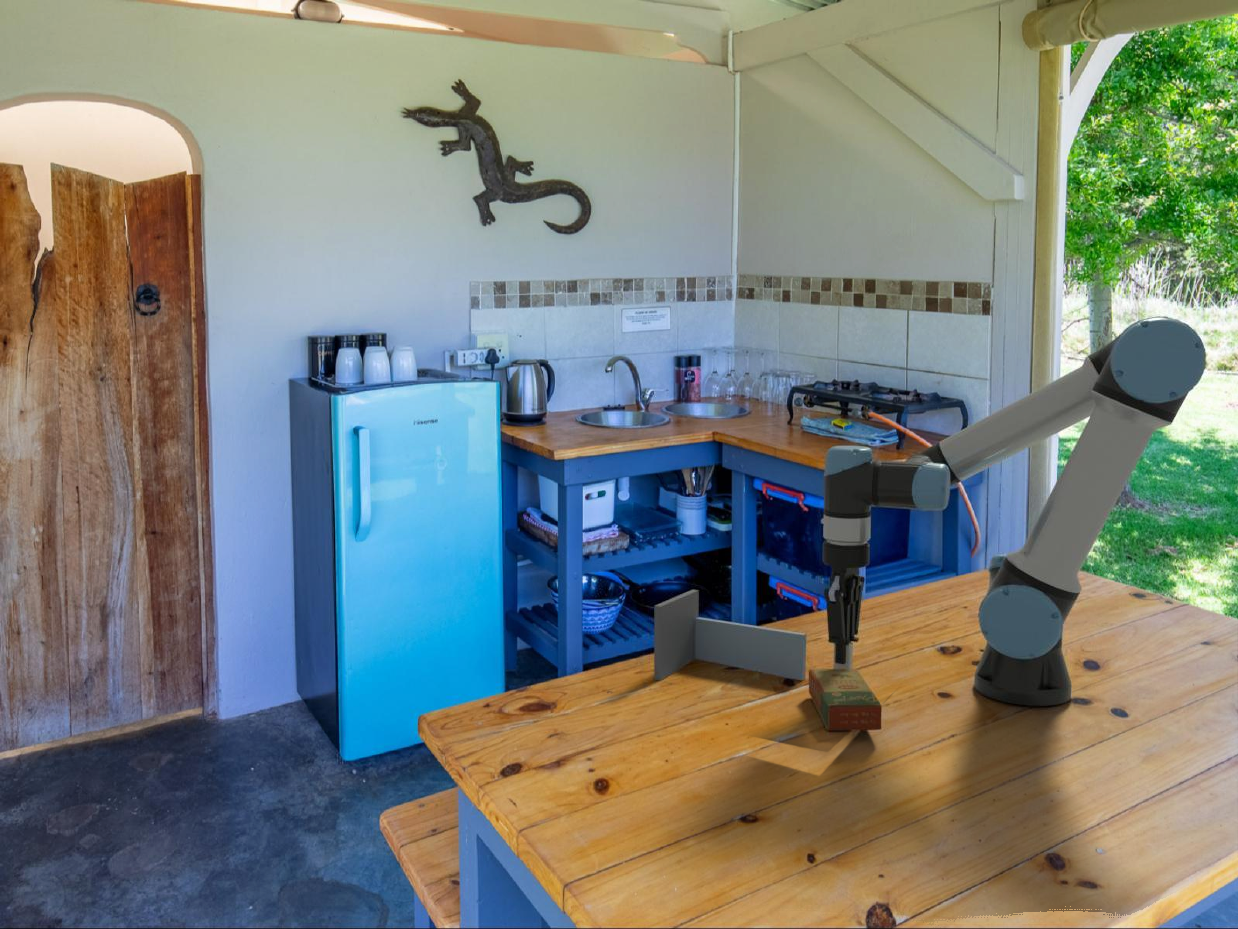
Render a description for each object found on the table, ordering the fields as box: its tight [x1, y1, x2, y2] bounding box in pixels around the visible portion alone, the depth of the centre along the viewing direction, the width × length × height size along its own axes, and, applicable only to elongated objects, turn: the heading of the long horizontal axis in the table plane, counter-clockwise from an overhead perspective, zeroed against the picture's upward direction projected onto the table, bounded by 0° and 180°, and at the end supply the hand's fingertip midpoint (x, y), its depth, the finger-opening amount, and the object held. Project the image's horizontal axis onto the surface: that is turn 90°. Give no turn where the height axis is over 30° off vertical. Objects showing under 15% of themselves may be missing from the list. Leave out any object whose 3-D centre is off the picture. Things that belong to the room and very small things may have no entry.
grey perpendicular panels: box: [653, 589, 807, 682], centre depth 181 cm, size 22×14×13 cm, turn 58°
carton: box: [808, 668, 882, 731], centre depth 165 cm, size 8×16×4 cm, turn 0°
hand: (842, 680), depth 175 cm, fingers closed
